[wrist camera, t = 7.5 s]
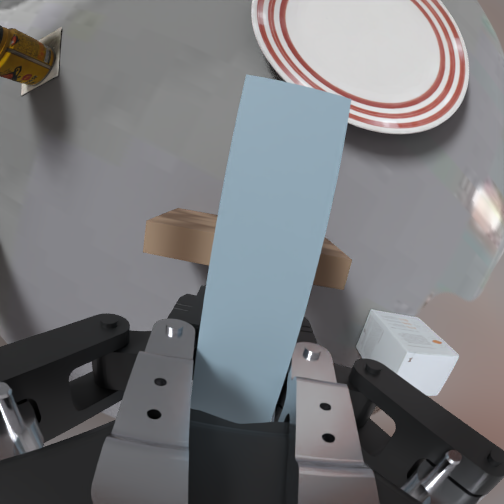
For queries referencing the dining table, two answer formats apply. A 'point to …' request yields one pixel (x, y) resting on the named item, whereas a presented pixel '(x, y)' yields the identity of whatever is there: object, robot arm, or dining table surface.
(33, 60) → the condiment
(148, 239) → the walnut block
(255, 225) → the light blue square panel
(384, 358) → the small box
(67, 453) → the robot arm
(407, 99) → the dinner plate
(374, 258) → the dining table surface
